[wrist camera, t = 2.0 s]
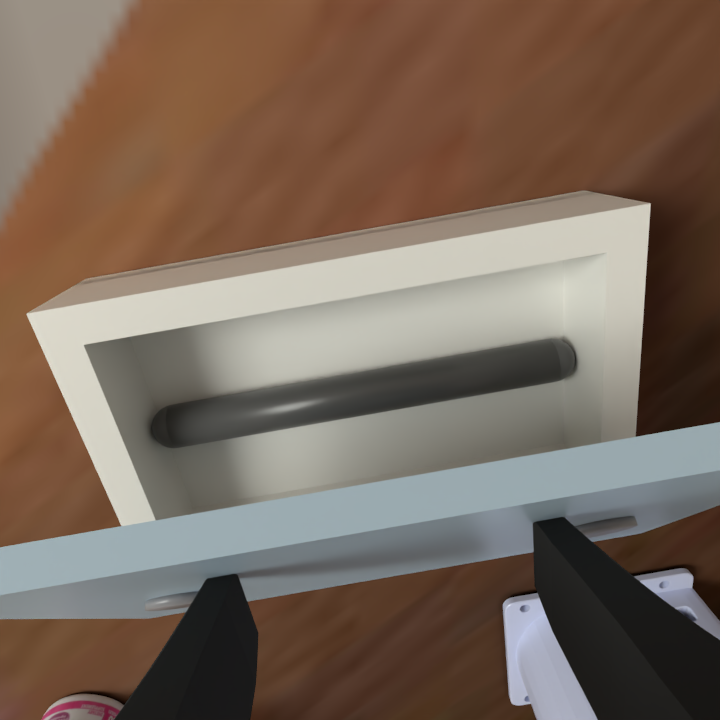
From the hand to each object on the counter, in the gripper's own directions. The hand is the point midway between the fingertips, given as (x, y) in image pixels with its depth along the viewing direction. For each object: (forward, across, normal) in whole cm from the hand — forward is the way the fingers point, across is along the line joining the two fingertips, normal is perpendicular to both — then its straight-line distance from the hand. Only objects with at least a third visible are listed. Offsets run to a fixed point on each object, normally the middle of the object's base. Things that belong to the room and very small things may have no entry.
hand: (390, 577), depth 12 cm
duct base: (+10, 0, 0) cm, 10 cm away
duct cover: (+2, 0, +1) cm, 2 cm away
